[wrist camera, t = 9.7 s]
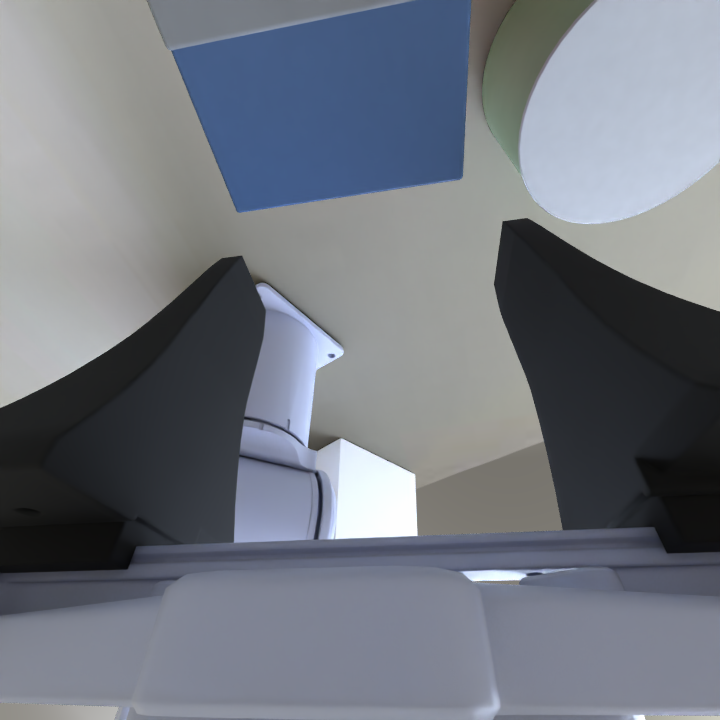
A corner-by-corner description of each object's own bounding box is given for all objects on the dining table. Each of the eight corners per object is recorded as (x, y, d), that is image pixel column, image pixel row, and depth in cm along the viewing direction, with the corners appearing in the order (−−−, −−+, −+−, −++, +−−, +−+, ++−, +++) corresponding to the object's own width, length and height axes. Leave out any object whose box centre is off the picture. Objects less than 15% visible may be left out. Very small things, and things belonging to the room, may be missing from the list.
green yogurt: (517, 190, 20) (559, 258, 15) (449, 51, 15) (481, 91, 11) (681, 85, 16) (792, 134, 12) (651, -130, 12) (804, -167, 8)
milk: (344, 503, 50) (335, 803, 33) (271, 476, 44) (212, 825, 27) (414, 474, 44) (450, 829, 26) (340, 437, 38) (322, 865, 20)
